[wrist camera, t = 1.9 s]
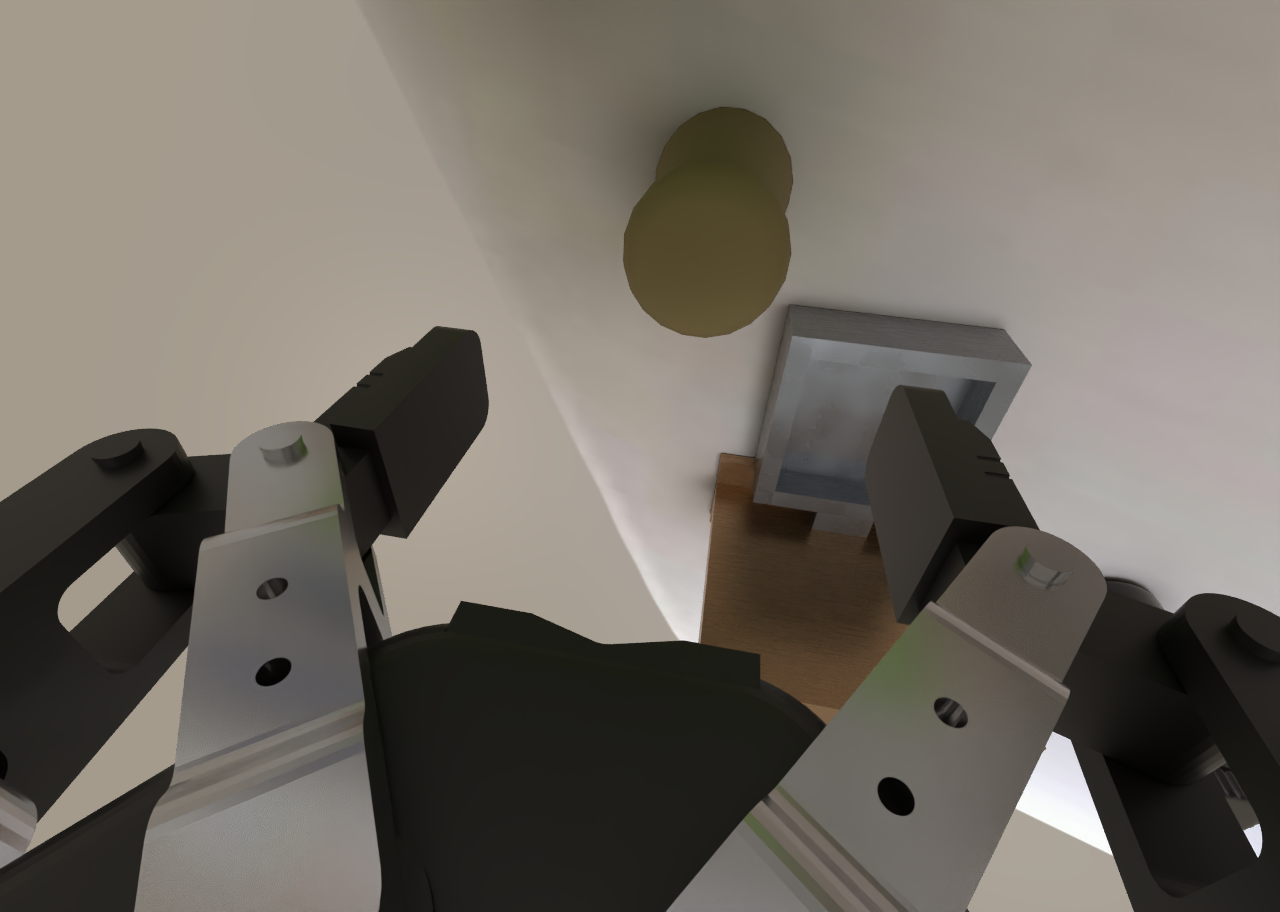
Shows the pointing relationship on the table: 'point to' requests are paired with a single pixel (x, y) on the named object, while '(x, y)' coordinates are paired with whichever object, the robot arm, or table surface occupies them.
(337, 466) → the robot arm
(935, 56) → the table surface
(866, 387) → the bracket
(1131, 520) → the table surface
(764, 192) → the olive mushroom knob
